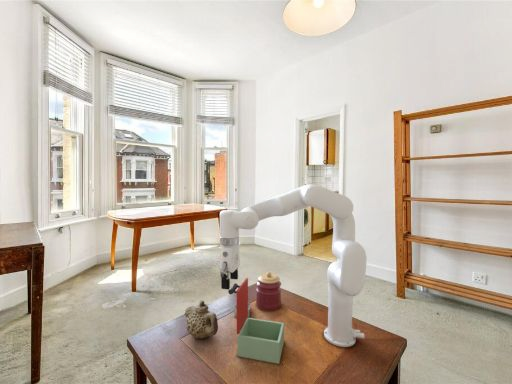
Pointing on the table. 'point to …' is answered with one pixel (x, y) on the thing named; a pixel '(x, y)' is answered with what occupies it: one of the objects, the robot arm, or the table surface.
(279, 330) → the storage box
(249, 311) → the egg carton
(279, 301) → the kitchen canister
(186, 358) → the table surface
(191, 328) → the teapot
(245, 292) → the lid
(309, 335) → the table surface
